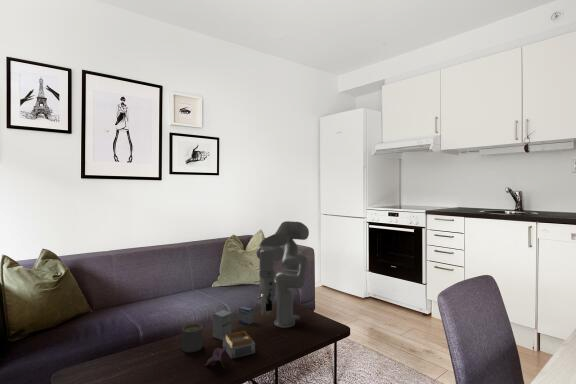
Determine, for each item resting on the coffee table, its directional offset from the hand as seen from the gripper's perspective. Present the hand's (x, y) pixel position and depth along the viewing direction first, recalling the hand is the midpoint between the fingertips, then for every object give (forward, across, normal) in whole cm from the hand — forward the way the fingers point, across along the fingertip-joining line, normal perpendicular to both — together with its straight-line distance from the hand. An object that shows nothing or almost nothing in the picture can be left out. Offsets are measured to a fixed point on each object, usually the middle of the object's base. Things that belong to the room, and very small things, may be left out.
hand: (266, 308), depth 167 cm
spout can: (+2, 0, +1) cm, 3 cm away
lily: (+20, -7, +27) cm, 34 cm away
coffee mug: (+20, +17, +33) cm, 42 cm away
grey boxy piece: (+19, +3, +14) cm, 24 cm away
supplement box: (+20, +21, +16) cm, 33 cm away
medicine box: (+20, +33, -2) cm, 38 cm away
